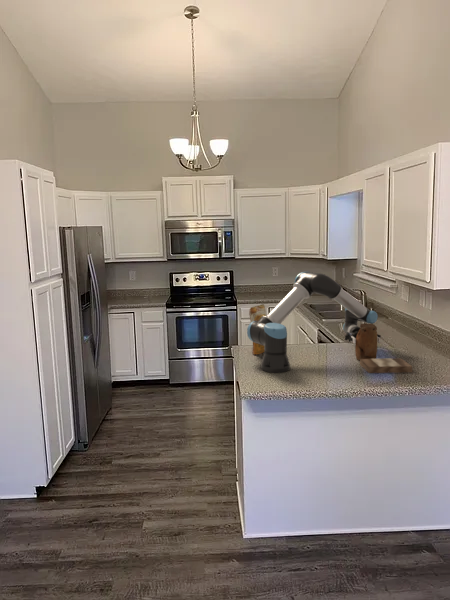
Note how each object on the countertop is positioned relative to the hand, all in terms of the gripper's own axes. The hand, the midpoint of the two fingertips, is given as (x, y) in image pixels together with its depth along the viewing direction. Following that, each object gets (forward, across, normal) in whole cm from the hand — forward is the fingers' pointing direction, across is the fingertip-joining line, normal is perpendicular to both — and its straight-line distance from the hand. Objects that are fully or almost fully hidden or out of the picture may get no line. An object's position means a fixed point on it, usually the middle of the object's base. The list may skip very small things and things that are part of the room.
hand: (367, 340), depth 261 cm
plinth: (+16, -4, -11) cm, 20 cm away
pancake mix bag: (-22, +57, -11) cm, 62 cm away
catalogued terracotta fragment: (0, 0, -11) cm, 11 cm away
